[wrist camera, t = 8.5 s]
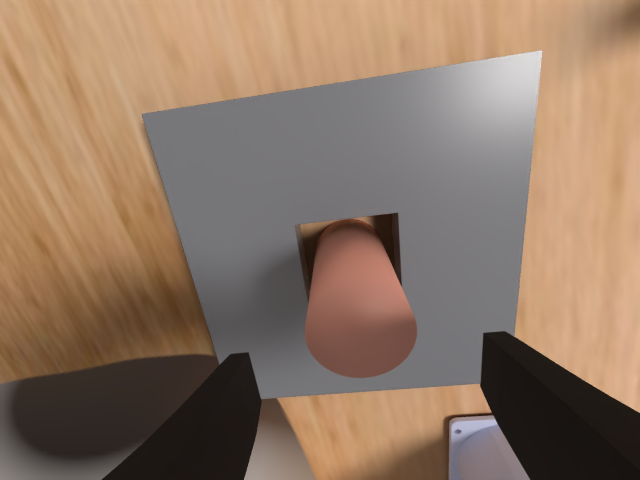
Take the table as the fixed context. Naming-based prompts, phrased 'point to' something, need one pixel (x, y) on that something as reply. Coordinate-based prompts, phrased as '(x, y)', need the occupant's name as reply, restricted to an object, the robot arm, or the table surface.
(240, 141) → the socket plate
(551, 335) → the table surface
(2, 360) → the table surface
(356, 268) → the peg
